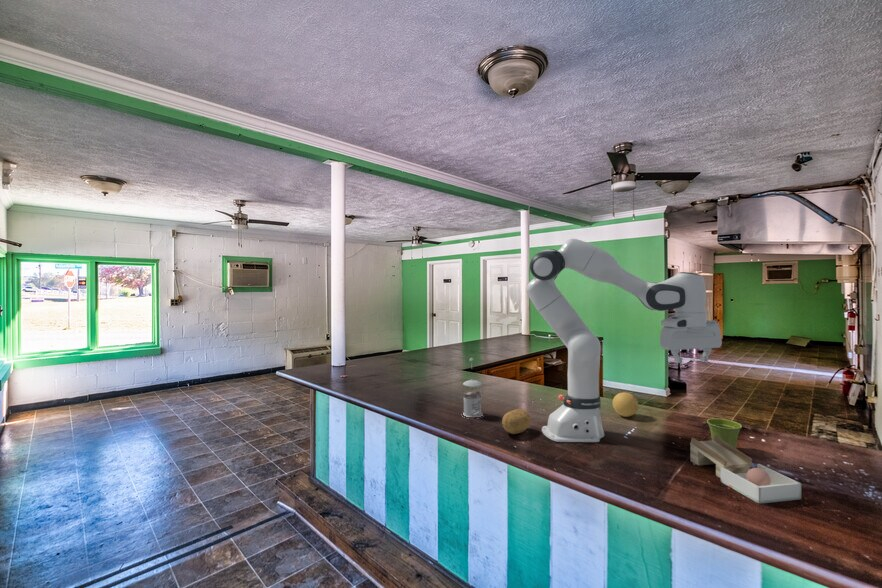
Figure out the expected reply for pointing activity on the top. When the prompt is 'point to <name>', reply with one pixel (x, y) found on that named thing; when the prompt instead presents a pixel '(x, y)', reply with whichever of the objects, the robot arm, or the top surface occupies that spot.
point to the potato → (516, 421)
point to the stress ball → (625, 404)
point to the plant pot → (725, 430)
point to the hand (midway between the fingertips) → (691, 362)
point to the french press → (472, 399)
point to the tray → (774, 492)
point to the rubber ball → (758, 477)
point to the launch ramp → (719, 456)
